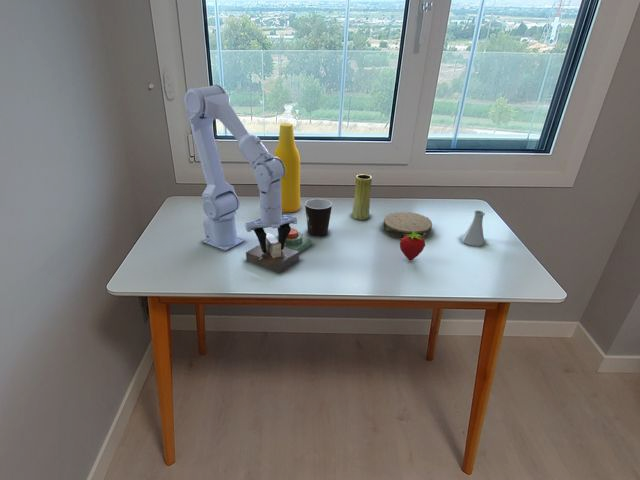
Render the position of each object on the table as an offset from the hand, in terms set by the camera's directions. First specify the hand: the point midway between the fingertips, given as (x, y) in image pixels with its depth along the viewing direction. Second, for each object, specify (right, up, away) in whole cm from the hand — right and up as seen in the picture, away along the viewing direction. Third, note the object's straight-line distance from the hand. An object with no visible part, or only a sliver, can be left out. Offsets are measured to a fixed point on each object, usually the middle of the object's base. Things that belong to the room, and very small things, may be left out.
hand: (272, 249), depth 129 cm
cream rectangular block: (0, 0, 0) cm, 1 cm away
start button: (+5, +5, +9) cm, 11 cm away
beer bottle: (+2, +19, +35) cm, 40 cm away
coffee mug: (+13, +9, +20) cm, 25 cm away
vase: (+28, +16, +31) cm, 44 cm away
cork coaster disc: (+43, +9, +22) cm, 49 cm away
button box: (+4, +3, +10) cm, 12 cm away
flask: (+63, +5, +16) cm, 65 cm away
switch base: (0, -3, +2) cm, 4 cm away
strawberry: (+40, -3, +5) cm, 41 cm away
